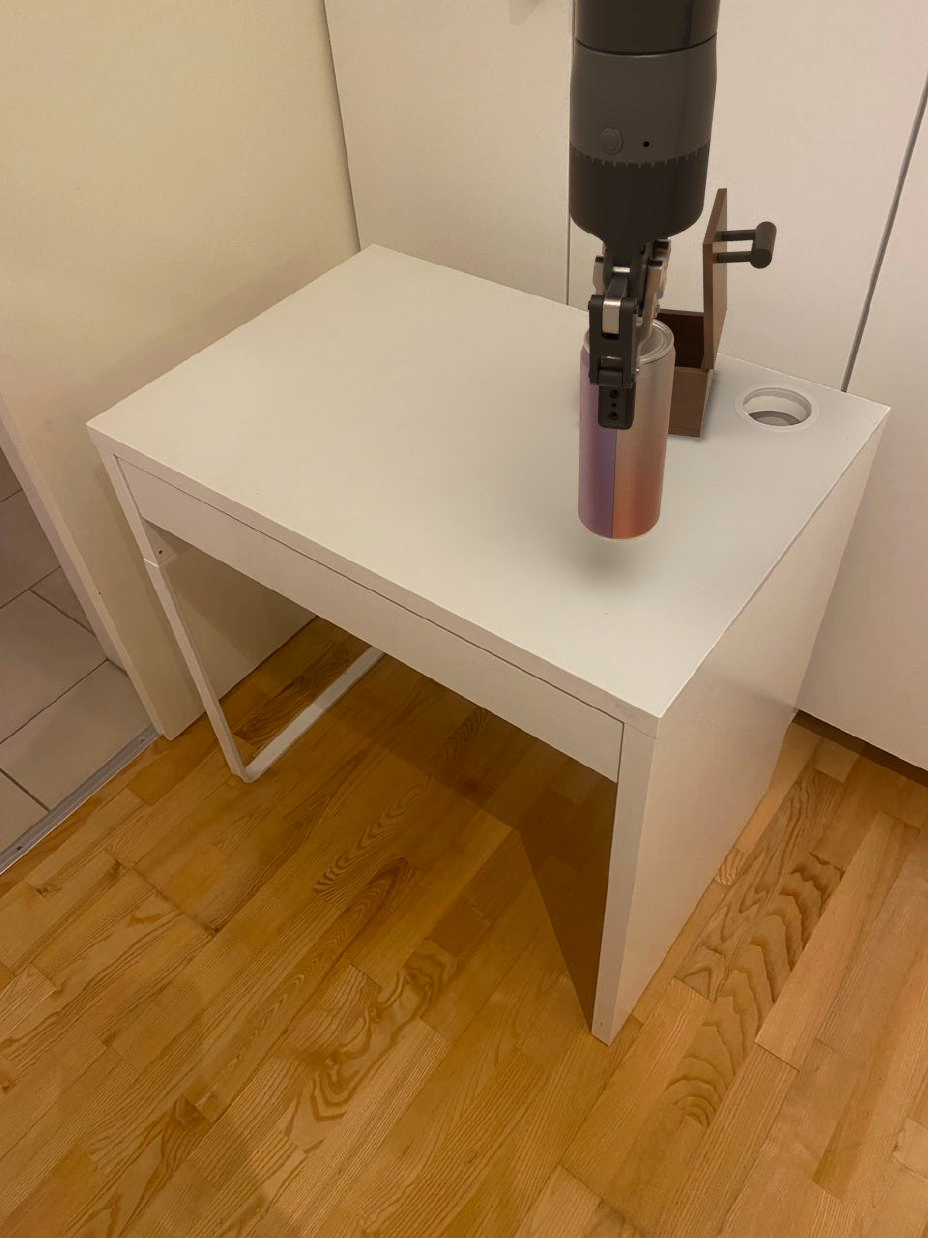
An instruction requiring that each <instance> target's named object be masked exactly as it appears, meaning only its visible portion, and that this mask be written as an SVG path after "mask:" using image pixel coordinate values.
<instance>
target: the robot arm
mask: <svg viewBox="0 0 928 1238" xmlns="http://www.w3.org/2000/svg"><path fill="white" fill-rule="evenodd" d="M574 1H575V2H574V4H575V5H574V8H575V11H574V14H575V15H574V46H573V47H574V48H573V57H572V65H571V71H570V78H569V79H570V81H569V123H568V124H569V126H568V127H569V129H568V130H569V131H568V133H569V134H568V135H569V140H568V142H569V145H568V147H569V148H568V149H569V150H568V151H569V153H568V168H569V169H568V170H569V171H568V211H569V216H570V218H571V220H572V222H573V223H574V224H575V226H576V227H578V228H579V229H580V230H581V231H583V232H585V233H587V234H589V235H592V236H594V237H596V238H597V239H599V240H600V241H601V242H602V245H601V246H602V248H601V254H600V255H598V254H597V255H595V258H594V262H593V271H592V285H593V286H594V288H595V293H594V294H593V293H592V294H591V296H590V300H588V301H587V311H588V328H589V374H588V378H590V385H599V395H598V424H599V425H600V426H601V427H603V428H610V429H619V430H628V429H630V428H631V427H632V424H633V421H634V412H635V397H636V382H637V376H639V375H640V367H639V361H640V353H641V345H642V342H643V341H645V340H647V339H648V338H649V337H650V336H651V333H652V325H653V318H656V317H657V312H658V313H659V311H660V308H661V304H660V300H662V299H663V298H664V295H665V290H666V285H667V279H668V277H667V276H668V275H667V274H668V272H667V271H668V266H669V263H670V257H671V252H672V239H669V238H672V237H674V236H676V235H679V234H681V233H684V232H685V231H687V230H689V229H690V228H691V227H692V226H694V225H695V224H696V223H697V222H698V221H699V219H700V217H701V216H702V214H703V212H704V207H705V197H706V188H707V179H708V168H709V160H710V153H711V152H710V150H711V143H712V142H711V141H712V130H713V122H714V112H715V105H716V104H715V103H716V96H717V95H716V94H717V85H718V84H717V83H718V60H717V59H718V58H717V54H718V53H717V40H718V28H719V20H720V19H719V18H720V8H721V0H574ZM637 317H643V318H642V322H641V324H640V325H639V326H636V319H637ZM608 356H609V357H619V358H621V359H613V358H607V357H608Z"/></svg>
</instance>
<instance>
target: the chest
mask: <svg viewBox="0 0 928 1238" xmlns="http://www.w3.org/2000/svg"><path fill="white" fill-rule="evenodd" d="M653 319H656V320H658V321H660V322H662V323H664V324H665V325H666V326H668V327H669V328H670V330H671V331H672V333H673V337H674V343H673V345H674V349H675V364H674V375H673V385H672V395H671V406H670V416H669V427H668V435H670V434H671V435H678V436H685V437H686V436H687V437H693V438H700V437H701V433H702V428H703V423H704V420H705V414H706V410H707V405H708V401H709V397H710V392H711V387H712V383H713V378H714V373H715V368H714V369H705V366H704V311H695V310H693V311H692V310H683V309H671V308H670V309H669V308H661V307H660V311H659V313H658V312H657V317H656V318H653Z"/></svg>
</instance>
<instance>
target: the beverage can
mask: <svg viewBox="0 0 928 1238" xmlns="http://www.w3.org/2000/svg"><path fill="white" fill-rule="evenodd" d="M642 318H643V317H637V319H636V326H639V325H640V324H641V322H642ZM673 343H674V337H673V333H672V331H671V330H670V328H669V327H668V326H666V325H665V324H664V323H662V322H660V321H658V320H656V319H653V325H652V333H651V336H650V337H649V338H648V339H647V340H645V341H643V342H642V345H641V353H640V361H639V367H640V375H639V376H637V382H636V397H635V412H634V421H633V424H632V427H631V428H630V429H628V430H619V429H610V428H603V427H601V426H600V425H599V424H598V395H599V385H590V378H588V374H589V327H588V328H587V329H586V331H585V332H584V335H583V344H582V347H581V349H580V352H579V353H580V356H579V357H580V359H579V414H578V415H579V417H578V418H579V419H578V420H579V423H578V425H579V426H578V480H577V481H578V483H577V485H578V486H577V487H578V488H577V491H578V492H577V515H578V518H579V520H580V522H581V524H582V526H583V527H584V528H585V529H586V530H587V531H588V532H589V533H590V534H591V535H593V536H594V537H596V538H599V539H601V540H604V541H607V542H614V543H626V542H631V541H635V540H638V539H640V538H642V537H644V536H645V535H647V534H648V533H649V532H650V531H652V530H653V529H654V528H655V526H656V525H657V524H658V523H659V520H660V516H661V508H662V500H663V499H662V498H663V486H664V476H665V469H666V468H665V467H666V458H667V457H666V456H667V448H668V447H667V446H668V435H669V434H668V427H669V416H670V406H671V395H672V385H673V375H674V364H675V349H674V345H673ZM607 358H613V359H621V358H619V357H609V356H608V357H607Z"/></svg>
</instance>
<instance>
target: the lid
mask: <svg viewBox="0 0 928 1238" xmlns="http://www.w3.org/2000/svg"><path fill="white" fill-rule="evenodd" d="M711 209H712V210H711V212H710V216H709V219H708V222H707V226H706V230H705V233H704V237H703V241H702V245H701V246H702V248H701V249H702V250H701V251H702V294H703V295H702V298H703V300H702V305H703V307H702V308H703V309H702V310H703V312H704V366H705V369H714V370H715V365H716V361H717V356H718V353H719V352H718V351H719V347H720V343H721V337H722V333H723V329H724V326H725V325H724V324H725V320H726V316H727V311H728V264H736V263H738V264H739V263H740V264H741V263H750V265H751V266H752V267H753V268H754V269H757V270H763V269H765V268H767V267H769V266H770V265H771V263H772V261H773V256H774V250H775V244H776V239H777V233H778V232H777V231H778V229H777V226H776V224H775V223H774V222H772V221H767V220H766V221H761V222H760V223H758V225H756V227H755V228H751V229H736V230H735V229H734V230H728V188H727V187H723V188H722V187H721V188H717V191H716V194H715V197H714V201H713V205H712V208H711ZM744 241H752V242H751V247H750V250H741V251H740V250H739V251H728V242H744Z"/></svg>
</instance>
